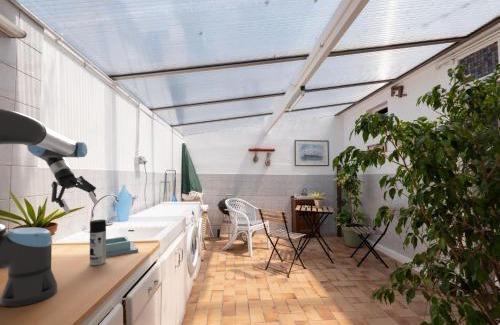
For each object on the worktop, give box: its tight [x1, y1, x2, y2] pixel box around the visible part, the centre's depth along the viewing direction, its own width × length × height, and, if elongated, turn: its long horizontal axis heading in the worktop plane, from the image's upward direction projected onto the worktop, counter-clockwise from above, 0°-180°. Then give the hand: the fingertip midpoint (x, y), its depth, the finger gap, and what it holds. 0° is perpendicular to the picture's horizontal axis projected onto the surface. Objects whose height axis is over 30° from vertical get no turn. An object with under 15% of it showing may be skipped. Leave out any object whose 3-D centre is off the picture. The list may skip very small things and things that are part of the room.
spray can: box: [89, 219, 107, 267], centre depth 124 cm, size 7×7×20 cm
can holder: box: [106, 235, 139, 259], centre depth 143 cm, size 20×20×6 cm
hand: (82, 207), depth 128 cm, fingers open, 13 cm apart
